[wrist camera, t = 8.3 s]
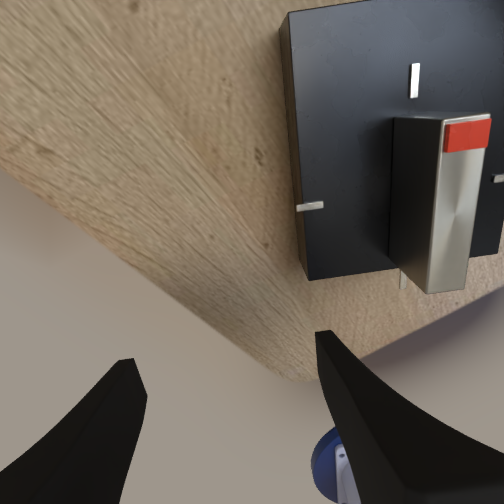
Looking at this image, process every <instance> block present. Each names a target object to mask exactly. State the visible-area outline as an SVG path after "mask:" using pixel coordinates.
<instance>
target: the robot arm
mask: <svg viewBox="0 0 504 504" xmlns="http://www.w3.org/2000/svg"><path fill="white" fill-rule="evenodd" d="M315 340H316V354H317V367H318V375H319V378H320V382H321V386H322V390H323V393H324V397H325V400H326V402H327V405H328V408H329V410H330V413H331V416H332V418H333V421H334V423H335V426H336V428H337V431H338V434H339V436H340V439H341V441H342V444H338V445H337V446H336V447H335V463H336V482H337V501H338V504H504V453H502V452H499V451H498V450H495V449H493V448H491V447H489V446H487V445H485V444H483V443H480V442H478V441H476V440H474V439H472V438H470V437H468V436H466V435H464V434H463V433H461V432H459V431H457V430H455V429H453V428H451V427H450V426H448V425H446V424H444V423H443V422H441V421H439V420H438V419H436V418H434V417H433V416H431V415H429V414H428V413H426V412H425V411H423V410H422V409H420V408H418V407H417V406H415V405H414V404H412V403H411V402H410V401H408V400H407V399H405V398H404V397H403V396H401V395H400V394H399V393H397V392H396V391H394V390H393V389H392V388H391V387H389V386H388V385H387V384H386V383H385V382H383V381H382V380H381V379H380V378H378V377H377V376H376V375H375V374H374V373H373V372H371V371H370V369H368V368H367V367H366V366H365V365H364V364H363V363H362V362H361V361H360V360H359V359H358V358H357V357H356V356H355V355H354V354H353V353H352V352H351V351H350V350H349V349H348V348H347V347H346V346H345V345H344V344H343V343H342V342H341V340H340V339H339V338H338V337H337V336H336V335H335V334H334V332H333V331H331V330H326V331H319V332H315ZM146 403H147V393H146V391H145V388H144V385H143V382H142V380H141V377H140V374H139V371H138V369H137V366H136V363H135V360H134V358H131V359H124V360H119V361H117V362H116V363H115V364H114V365H113V366H112V367H111V368H110V370H109V371H108V372H107V373H106V374H105V375H104V376H103V377H102V378H101V379H100V380H99V381H98V383H97V384H96V385H95V386H94V387H93V388H92V389H91V390H90V391H89V392H88V393H87V394H86V396H84V397H83V399H82V400H81V401H80V402H79V403H78V404H77V405H76V406H75V407H74V408H73V409H72V410H71V411H70V412H69V413H68V414H67V415H66V416H65V417H64V418H63V419H62V420H61V421H60V422H59V423H58V424H57V425H56V426H54V427H53V428H52V429H51V430H50V431H49V432H48V433H47V434H46V435H45V436H44V437H42V438H41V439H40V440H39V441H38V442H37V443H35V444H34V445H33V446H32V447H31V448H30V449H29V450H27V451H26V452H25V453H24V454H23V455H21V456H20V457H19V458H17V459H16V460H15V461H14V462H12V463H11V464H10V465H8V466H7V467H6V468H5V469H3V470H2V471H1V472H0V504H119V502H120V497H121V494H122V490H123V486H124V483H125V479H126V476H127V473H128V470H129V467H130V463H131V460H132V457H133V454H134V451H135V447H136V444H137V441H138V437H139V434H140V431H141V427H142V424H143V420H144V414H145V409H146Z"/></svg>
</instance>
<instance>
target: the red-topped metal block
mask: <svg viewBox="0 0 504 504" xmlns="http://www.w3.org/2000/svg"><path fill="white" fill-rule="evenodd" d="M490 115H491V114H490V113H489V112H424V113H417V114H410V115H403V116H397V117H395V119H394V140H393V165H392V189H391V213H390V238H389V259H390V260H391V261H392V262H393V263H394V264H395V265H396V266H397V267H398V268H399V269H400V270H401V271H402V272H403V273H404V274H405V275H406V276H407V277H408V278H409V279H411V280H412V281H413V282H414V283H415V284H416V285H417V286H418V287H419V288H420V289H421V290H422V291H423V292H424V293H425V294H433V293H441V292H448V291H455V290H462V289H464V287H465V281H466V274H467V268H468V261H469V254H470V248H471V241H472V234H473V228H474V221H475V215H476V208H477V201H478V195H479V188H480V182H481V175H482V168H483V162H484V155H485V148H486V147H487V146H488V140H489V133H490V126H491V120H492V119H491V118H490Z"/></svg>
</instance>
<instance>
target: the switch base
mask: <svg viewBox="0 0 504 504" xmlns="http://www.w3.org/2000/svg"><path fill="white" fill-rule="evenodd" d="M279 34H280V45H281V57H282V68H283V80H284V91H285V102H286V114H287V125H288V137H289V148H290V159H291V171H292V182H293V194H294V205H295V216H296V228H297V239H298V250H299V260H300V262H301V264H302V267H303V269H304V271H305V274H306V276H307V278H308V280H309V281H312V280H319V279H326V278H333V277H340V276H347V275H354V274H361V273H368V272H374V271H381V270H388V269H395V268H398V267H397V266H396V265H395V264H394V263H393V262H392V261H391V260H390V259H389V238H390V213H391V189H392V165H393V140H394V119H395V117H397V116H403V115H410V114H417V113H424V112H489V113H490V114H491V115H490V118H491V119H492V120H491V126H490V133H489V140H488V146H487V147H486V148H485V155H484V162H483V168H482V175H481V182H480V188H479V195H478V201H477V208H476V215H475V221H474V228H473V234H472V241H471V248H470V254H469V258H471V257H478V256H485V255H492V254H497V253H498V249H499V243H500V238H501V232H502V227H503V221H504V0H363V1H356V2H350V3H344V4H337V5H331V6H324V7H318V8H311V9H305V10H298V11H292V12H288V13H287V15H286V17H285V19H284V21H283V23H282V24H281V26H280V28H279ZM406 281H407V276H406V275H405V274H404V273H403V272H402V271H401V270H400V279H399V289H400V290H401V289H406Z"/></svg>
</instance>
